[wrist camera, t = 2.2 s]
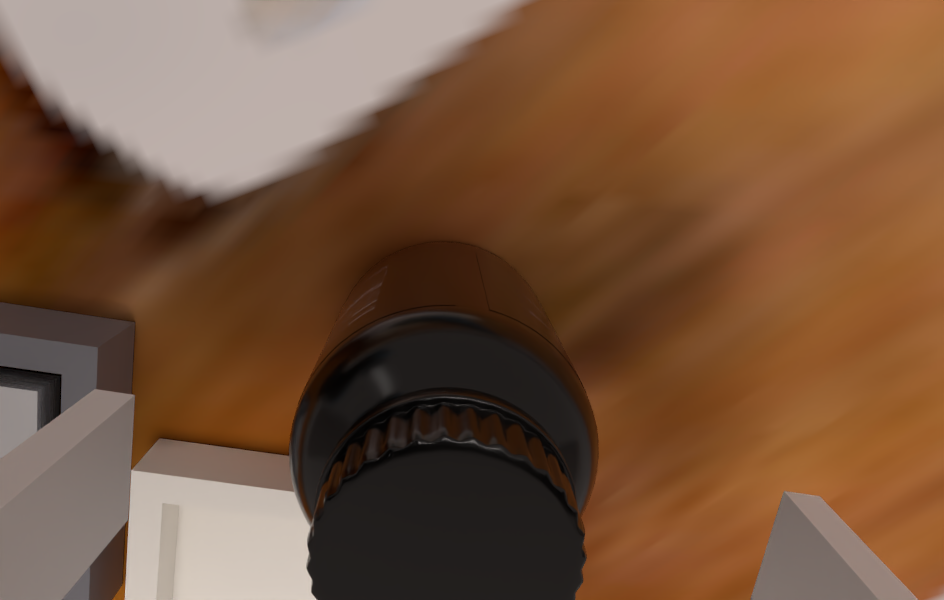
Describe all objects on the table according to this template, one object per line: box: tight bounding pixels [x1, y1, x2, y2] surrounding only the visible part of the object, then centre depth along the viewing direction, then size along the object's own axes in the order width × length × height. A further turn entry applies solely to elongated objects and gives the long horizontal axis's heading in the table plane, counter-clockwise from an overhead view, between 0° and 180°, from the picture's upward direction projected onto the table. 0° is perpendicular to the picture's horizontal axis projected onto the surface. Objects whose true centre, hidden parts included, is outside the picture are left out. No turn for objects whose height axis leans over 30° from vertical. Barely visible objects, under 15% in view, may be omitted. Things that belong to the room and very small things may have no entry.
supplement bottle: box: [289, 242, 599, 600], centre depth 18 cm, size 7×7×12 cm
